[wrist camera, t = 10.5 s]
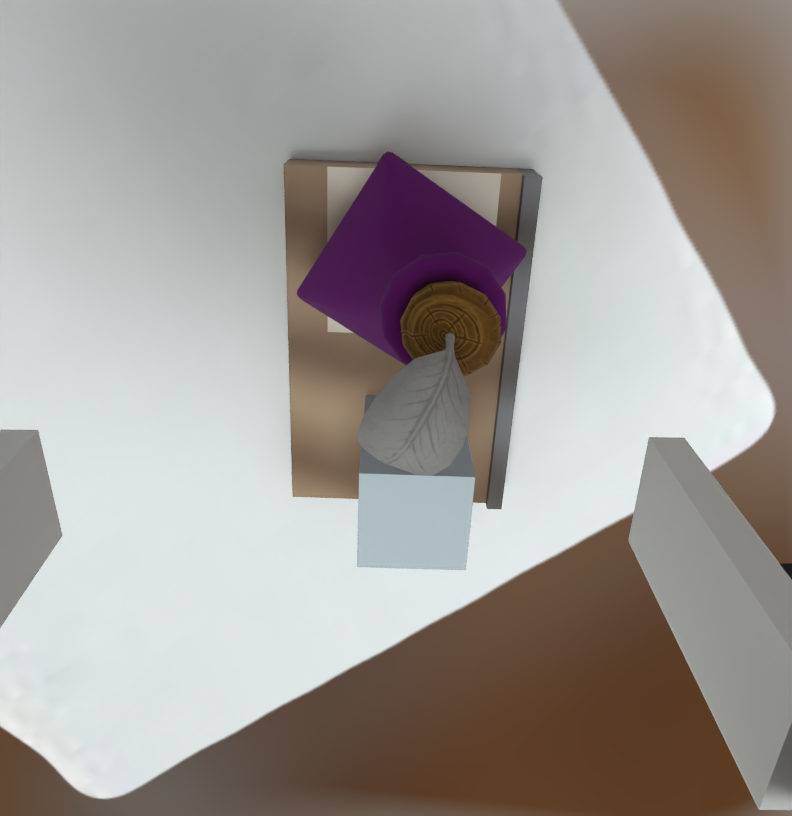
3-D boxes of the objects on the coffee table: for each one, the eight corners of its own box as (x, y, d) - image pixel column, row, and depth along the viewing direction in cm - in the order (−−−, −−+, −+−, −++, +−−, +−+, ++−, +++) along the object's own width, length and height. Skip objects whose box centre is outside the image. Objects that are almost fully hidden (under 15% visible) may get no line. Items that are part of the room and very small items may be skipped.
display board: (289, 159, 35) (282, 166, 32) (534, 169, 35) (544, 177, 33) (296, 478, 43) (291, 502, 40) (497, 484, 43) (503, 509, 41)
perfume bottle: (387, 140, 32) (381, 221, 16) (518, 234, 34) (629, 390, 18) (302, 275, 35) (224, 459, 19) (427, 355, 37) (453, 585, 21)
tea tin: (365, 395, 38) (359, 473, 31) (461, 398, 38) (477, 477, 31) (363, 476, 40) (357, 567, 33) (454, 479, 40) (467, 570, 33)
